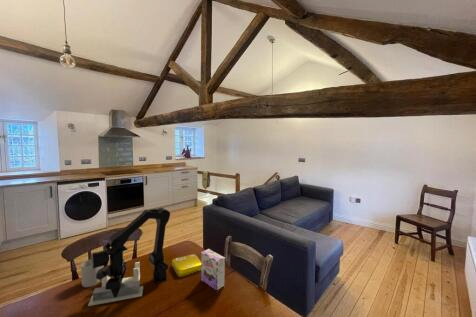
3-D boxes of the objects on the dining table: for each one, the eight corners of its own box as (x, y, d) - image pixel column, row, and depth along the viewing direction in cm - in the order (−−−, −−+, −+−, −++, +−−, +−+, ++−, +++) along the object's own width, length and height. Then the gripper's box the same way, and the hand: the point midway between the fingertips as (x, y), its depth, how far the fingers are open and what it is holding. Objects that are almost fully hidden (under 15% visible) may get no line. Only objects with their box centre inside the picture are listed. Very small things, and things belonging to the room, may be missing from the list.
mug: (92, 288, 116) (91, 267, 115) (77, 286, 117) (76, 266, 116) (108, 274, 128) (107, 256, 127) (94, 273, 129) (94, 255, 128)
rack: (140, 275, 128) (140, 261, 127) (139, 282, 121) (138, 268, 120) (104, 280, 122) (104, 266, 122) (101, 289, 115) (100, 274, 115)
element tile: (178, 278, 126) (178, 270, 126) (171, 265, 139) (171, 258, 138) (203, 270, 134) (203, 263, 133) (194, 259, 147) (194, 252, 146)
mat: (143, 287, 117) (143, 285, 117) (141, 296, 110) (141, 294, 110) (92, 296, 110) (92, 294, 110) (88, 306, 103) (88, 304, 103)
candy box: (200, 280, 124) (200, 251, 123) (208, 275, 128) (208, 248, 127) (216, 292, 114) (216, 261, 113) (225, 286, 118) (225, 257, 117)
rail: (139, 288, 115) (139, 280, 115) (138, 293, 111) (138, 285, 111) (95, 296, 109) (95, 288, 109) (92, 301, 105) (92, 293, 105)
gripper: (102, 254, 115) (103, 282, 116) (91, 274, 98) (92, 308, 99) (126, 251, 119) (127, 279, 120) (120, 270, 101) (120, 302, 102)
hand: (117, 291), depth 110 cm, fingers open, 9 cm apart
